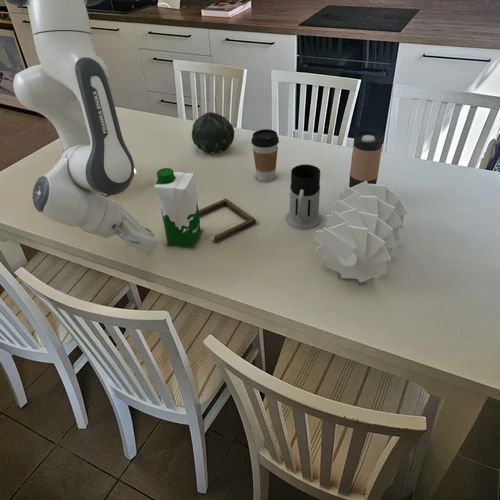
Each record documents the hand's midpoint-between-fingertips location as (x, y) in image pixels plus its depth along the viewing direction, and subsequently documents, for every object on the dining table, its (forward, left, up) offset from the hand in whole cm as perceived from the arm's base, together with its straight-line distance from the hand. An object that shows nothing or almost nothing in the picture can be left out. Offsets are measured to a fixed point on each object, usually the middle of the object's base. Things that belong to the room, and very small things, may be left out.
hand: (151, 235), depth 113 cm
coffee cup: (-11, +46, -6) cm, 48 cm away
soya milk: (0, +9, -6) cm, 11 cm away
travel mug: (+18, +58, -6) cm, 61 cm away
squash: (-39, +45, -6) cm, 60 cm away
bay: (0, +20, -6) cm, 21 cm away
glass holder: (+16, +37, -6) cm, 41 cm away
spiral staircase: (+35, +38, -6) cm, 52 cm away
